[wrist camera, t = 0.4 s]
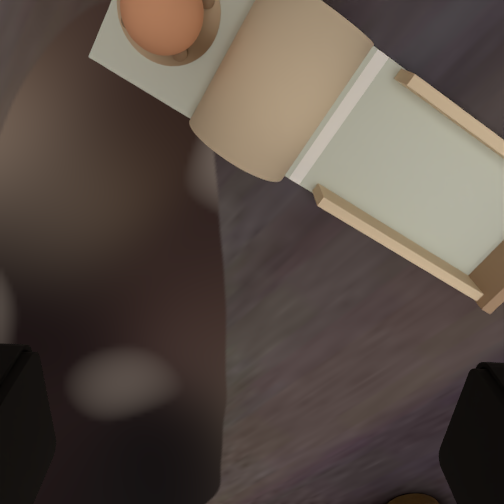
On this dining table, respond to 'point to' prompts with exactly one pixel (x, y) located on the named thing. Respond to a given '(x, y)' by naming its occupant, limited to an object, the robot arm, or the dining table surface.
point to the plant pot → (414, 499)
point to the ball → (163, 24)
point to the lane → (340, 132)
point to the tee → (197, 48)
